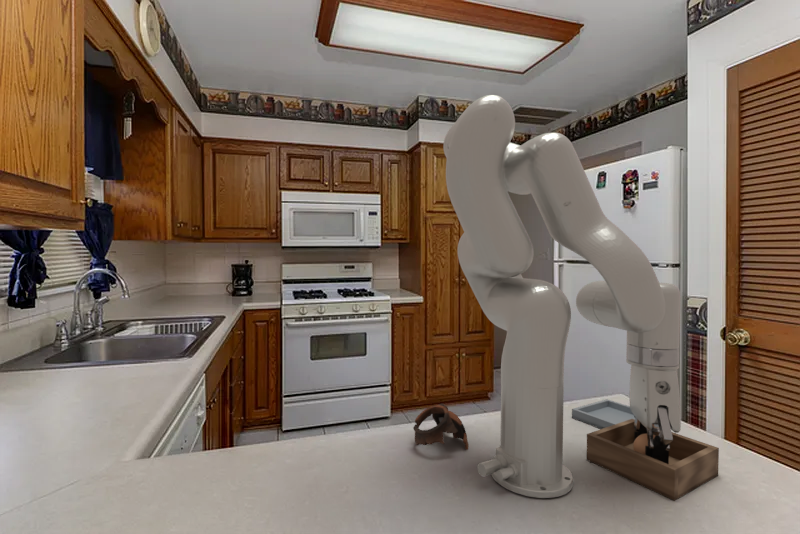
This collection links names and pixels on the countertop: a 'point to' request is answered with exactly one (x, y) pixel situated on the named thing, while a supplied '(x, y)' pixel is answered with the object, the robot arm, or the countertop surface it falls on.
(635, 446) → the ball
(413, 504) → the countertop surface
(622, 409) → the tray
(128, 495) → the countertop surface
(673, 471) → the bin
